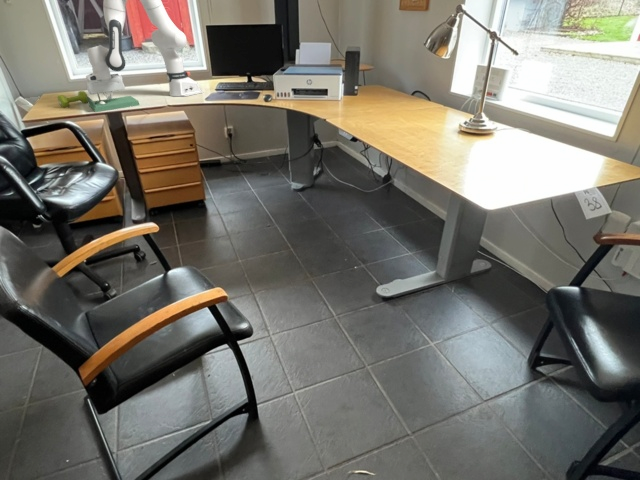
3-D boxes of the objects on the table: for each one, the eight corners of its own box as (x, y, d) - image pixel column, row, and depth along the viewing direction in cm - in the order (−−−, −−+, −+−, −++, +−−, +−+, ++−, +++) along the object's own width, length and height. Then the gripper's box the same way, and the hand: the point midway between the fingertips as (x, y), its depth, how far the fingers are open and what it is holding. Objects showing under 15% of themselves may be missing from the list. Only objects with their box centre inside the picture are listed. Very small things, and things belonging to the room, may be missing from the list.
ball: (106, 104, 236) (101, 99, 234) (107, 105, 234) (102, 100, 231) (102, 108, 236) (97, 103, 233) (103, 109, 233) (98, 104, 231)
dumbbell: (64, 108, 234) (60, 96, 230) (59, 107, 238) (54, 94, 234) (91, 103, 245) (87, 91, 241) (85, 101, 249) (81, 89, 245)
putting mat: (131, 99, 250) (126, 80, 243) (139, 105, 238) (134, 84, 231) (89, 106, 237) (82, 85, 231) (95, 112, 225) (88, 90, 219)
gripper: (119, 72, 234) (126, 95, 242) (82, 76, 224) (90, 101, 232) (122, 73, 230) (129, 97, 238) (84, 78, 220) (93, 103, 227)
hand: (109, 99), depth 235 cm, fingers closed
